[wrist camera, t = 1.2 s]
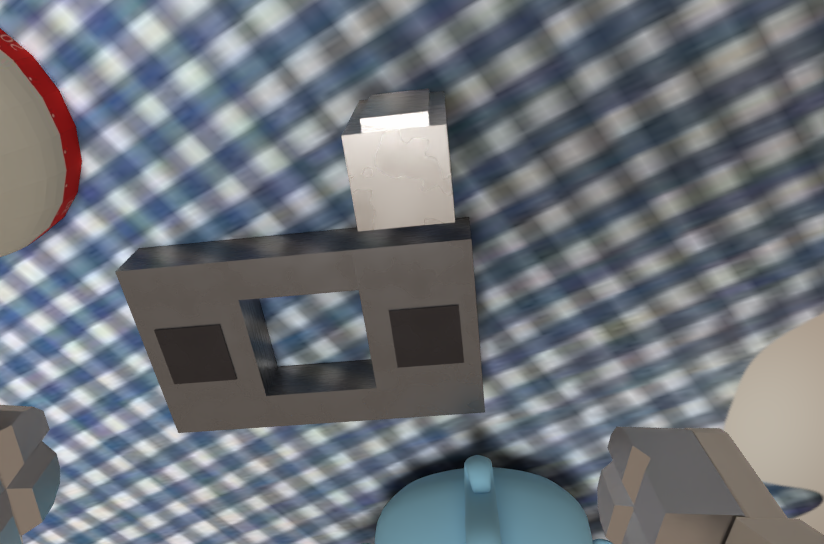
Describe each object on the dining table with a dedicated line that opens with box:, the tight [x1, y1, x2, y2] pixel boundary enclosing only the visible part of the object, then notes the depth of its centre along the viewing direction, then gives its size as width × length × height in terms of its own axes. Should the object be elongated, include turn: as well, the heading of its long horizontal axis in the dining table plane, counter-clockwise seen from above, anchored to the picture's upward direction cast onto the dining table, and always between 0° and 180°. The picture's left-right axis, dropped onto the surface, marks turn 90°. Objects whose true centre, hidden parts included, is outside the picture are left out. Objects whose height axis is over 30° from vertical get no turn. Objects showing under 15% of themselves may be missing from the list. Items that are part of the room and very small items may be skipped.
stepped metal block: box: [341, 89, 455, 231], centre depth 30 cm, size 4×5×7 cm
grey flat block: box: [116, 217, 485, 433], centre depth 37 cm, size 20×12×3 cm, turn 97°
